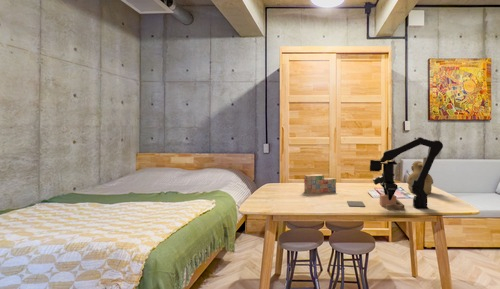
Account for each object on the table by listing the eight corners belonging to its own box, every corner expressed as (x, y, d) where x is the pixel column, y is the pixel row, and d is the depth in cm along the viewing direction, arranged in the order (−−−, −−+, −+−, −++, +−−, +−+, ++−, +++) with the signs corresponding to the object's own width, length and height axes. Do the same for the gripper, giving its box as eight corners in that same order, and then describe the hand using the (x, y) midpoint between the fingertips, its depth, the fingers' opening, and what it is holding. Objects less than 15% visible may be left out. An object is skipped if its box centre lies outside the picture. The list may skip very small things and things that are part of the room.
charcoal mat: (362, 202, 209) (362, 201, 209) (365, 206, 198) (365, 205, 198) (346, 201, 211) (346, 200, 211) (349, 206, 199) (349, 205, 199)
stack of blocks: (332, 190, 249) (332, 173, 249) (336, 192, 243) (336, 174, 243) (304, 191, 245) (304, 174, 245) (307, 193, 239) (307, 175, 238)
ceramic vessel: (427, 190, 246) (427, 155, 245) (439, 195, 227) (440, 157, 225) (402, 189, 248) (402, 155, 247) (412, 195, 229) (413, 158, 227)
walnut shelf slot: (395, 201, 210) (395, 197, 210) (404, 209, 190) (404, 205, 190) (379, 201, 212) (379, 197, 212) (387, 209, 191) (387, 205, 191)
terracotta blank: (393, 204, 203) (394, 194, 203) (396, 206, 198) (396, 196, 198) (379, 204, 204) (379, 194, 204) (381, 206, 199) (381, 196, 199)
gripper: (371, 169, 211) (370, 195, 212) (376, 174, 192) (376, 201, 193) (390, 169, 209) (389, 195, 210) (397, 174, 190) (397, 202, 191)
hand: (388, 198), depth 201 cm, fingers open, 9 cm apart
